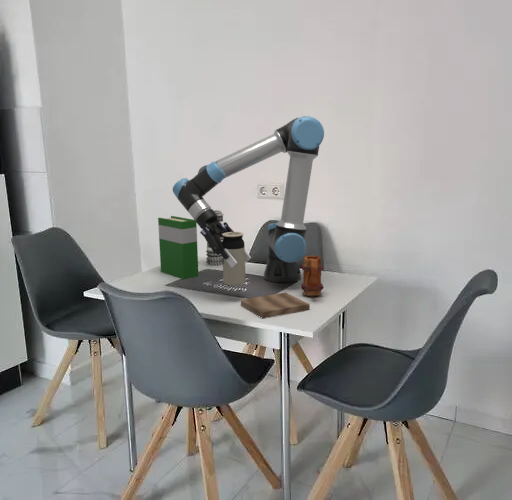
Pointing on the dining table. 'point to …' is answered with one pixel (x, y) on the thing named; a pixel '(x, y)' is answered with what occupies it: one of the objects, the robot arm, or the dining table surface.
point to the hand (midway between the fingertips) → (241, 262)
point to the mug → (312, 276)
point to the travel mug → (237, 250)
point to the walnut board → (274, 305)
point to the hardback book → (178, 247)
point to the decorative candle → (213, 258)
